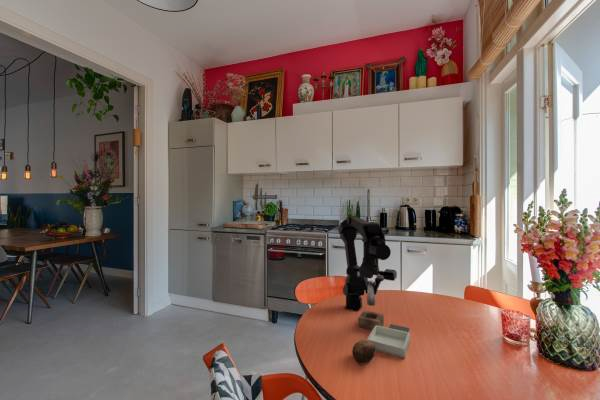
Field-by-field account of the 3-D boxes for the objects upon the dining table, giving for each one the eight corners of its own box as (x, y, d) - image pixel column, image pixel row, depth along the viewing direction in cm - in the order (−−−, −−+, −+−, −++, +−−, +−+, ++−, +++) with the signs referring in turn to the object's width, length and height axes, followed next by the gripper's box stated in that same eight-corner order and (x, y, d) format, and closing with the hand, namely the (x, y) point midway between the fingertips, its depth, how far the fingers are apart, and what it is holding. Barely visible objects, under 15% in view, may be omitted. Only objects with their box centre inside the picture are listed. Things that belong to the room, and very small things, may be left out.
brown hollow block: (358, 327, 105) (358, 317, 105) (364, 319, 112) (364, 310, 112) (379, 332, 102) (379, 322, 102) (383, 324, 108) (383, 314, 108)
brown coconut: (382, 346, 86) (371, 331, 85) (381, 369, 79) (369, 354, 78) (360, 351, 90) (350, 338, 89) (358, 374, 83) (346, 359, 82)
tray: (366, 348, 91) (366, 339, 91) (375, 333, 101) (375, 325, 101) (404, 358, 85) (404, 349, 85) (410, 341, 95) (409, 332, 95)
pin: (366, 304, 106) (366, 282, 106) (368, 302, 109) (368, 280, 109) (373, 306, 105) (373, 283, 105) (375, 303, 108) (375, 281, 108)
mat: (386, 332, 102) (386, 331, 102) (390, 324, 108) (390, 323, 108) (406, 337, 98) (406, 335, 98) (409, 328, 104) (409, 327, 104)
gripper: (341, 256, 105) (341, 296, 105) (391, 261, 95) (391, 305, 95) (350, 251, 114) (351, 288, 114) (396, 255, 105) (397, 295, 105)
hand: (371, 293), depth 107 cm, fingers closed on pin, 3 cm apart
